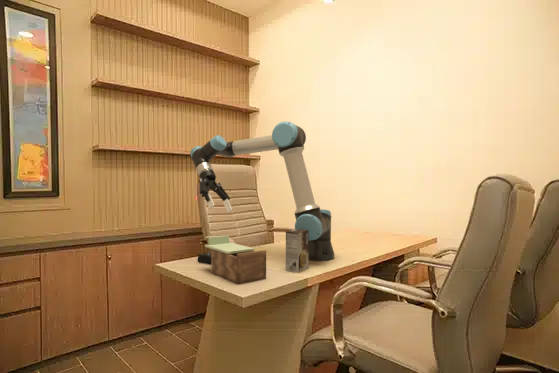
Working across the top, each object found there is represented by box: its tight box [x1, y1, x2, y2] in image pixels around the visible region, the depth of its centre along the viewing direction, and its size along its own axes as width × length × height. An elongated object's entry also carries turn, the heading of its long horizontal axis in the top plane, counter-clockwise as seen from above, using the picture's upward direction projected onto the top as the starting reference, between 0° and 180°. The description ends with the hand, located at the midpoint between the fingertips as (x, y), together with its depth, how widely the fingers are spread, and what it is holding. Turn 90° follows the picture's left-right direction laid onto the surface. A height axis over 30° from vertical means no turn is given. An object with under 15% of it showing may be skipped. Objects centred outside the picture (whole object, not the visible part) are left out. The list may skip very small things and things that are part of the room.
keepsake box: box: [210, 249, 267, 285], centre depth 132 cm, size 20×12×10 cm, turn 39°
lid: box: [204, 235, 255, 254], centre depth 137 cm, size 18×12×4 cm, turn 39°
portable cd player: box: [197, 251, 211, 266], centre depth 157 cm, size 16×17×4 cm
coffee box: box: [285, 228, 309, 273], centre depth 143 cm, size 9×6×16 cm
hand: (221, 209), depth 162 cm, fingers open, 13 cm apart
